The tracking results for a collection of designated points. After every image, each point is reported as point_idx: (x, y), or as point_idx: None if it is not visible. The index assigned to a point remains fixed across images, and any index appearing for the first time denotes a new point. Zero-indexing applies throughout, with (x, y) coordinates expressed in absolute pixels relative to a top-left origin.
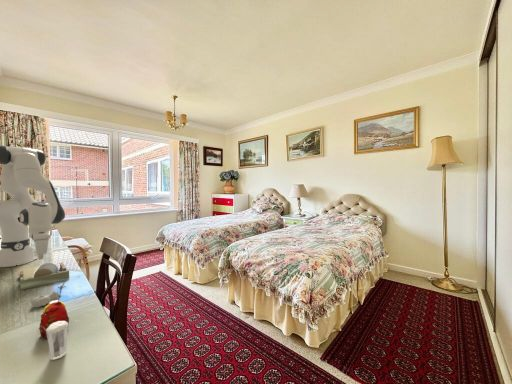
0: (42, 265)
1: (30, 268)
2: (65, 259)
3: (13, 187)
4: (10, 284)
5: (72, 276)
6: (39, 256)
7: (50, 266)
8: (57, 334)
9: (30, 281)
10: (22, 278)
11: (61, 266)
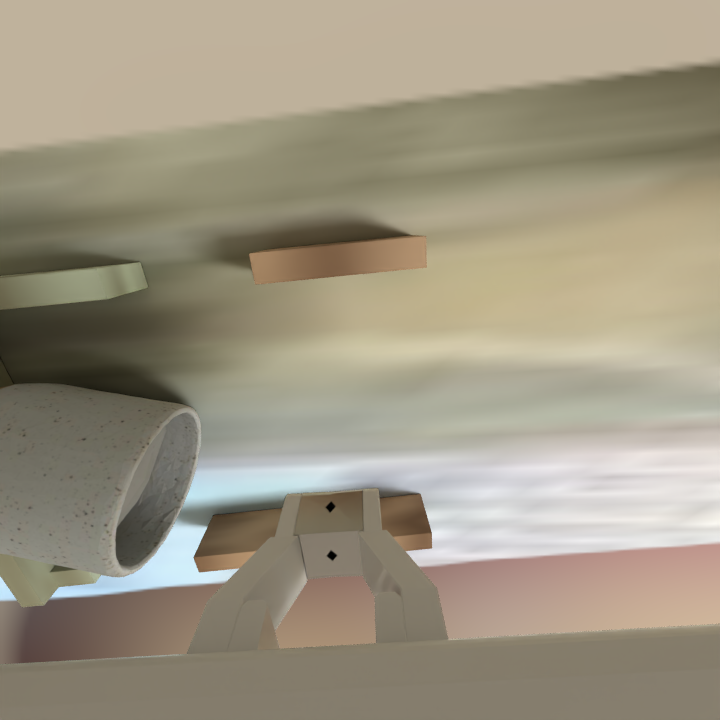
0: (67, 506)
1: (656, 297)
2: (682, 517)
3: None
4: (181, 180)
5: None
6: (275, 542)
7: (23, 557)
8: None
9: None
10: (52, 293)
11: None
